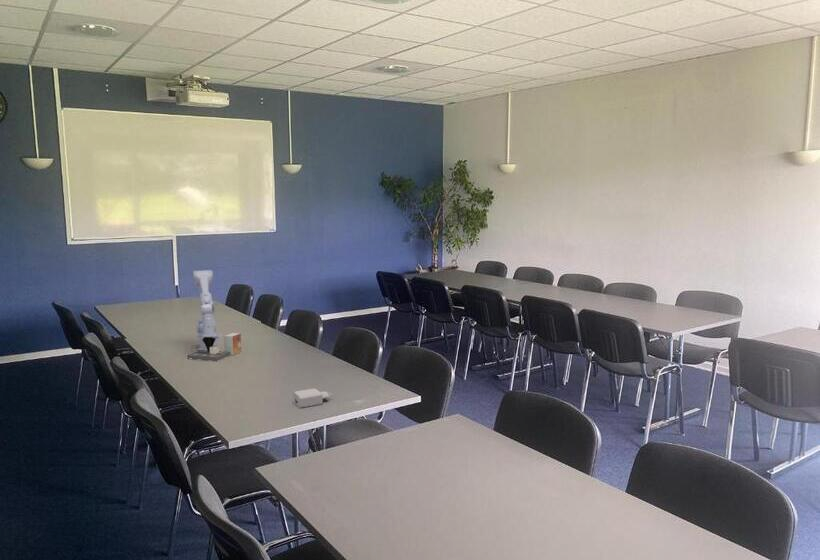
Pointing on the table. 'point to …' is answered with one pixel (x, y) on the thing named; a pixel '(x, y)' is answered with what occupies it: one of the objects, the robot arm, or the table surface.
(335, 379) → the table surface
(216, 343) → the robot arm
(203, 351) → the panel
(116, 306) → the table surface
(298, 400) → the charger
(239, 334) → the small box
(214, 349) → the fader
